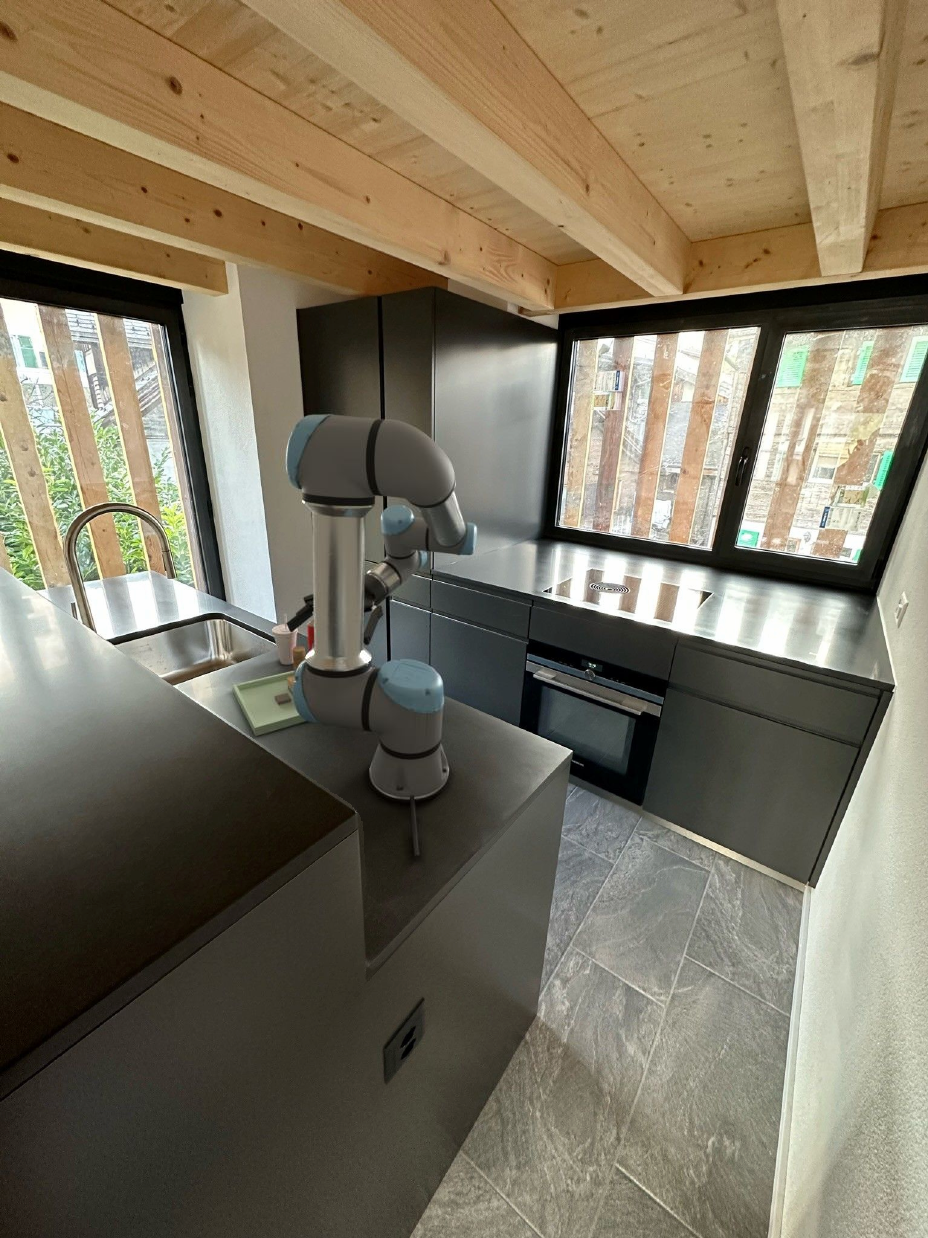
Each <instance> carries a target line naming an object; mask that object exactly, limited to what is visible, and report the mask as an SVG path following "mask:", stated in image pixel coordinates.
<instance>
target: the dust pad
mask: <svg viewBox="0 0 928 1238" xmlns="http://www.w3.org/2000/svg"><path fill="white" fill-rule="evenodd" d="M275 700H276V702H277V703H278V705H281V704H284V703H288V702H291V698H290V696H289V695H288V693H285V694H281V695H277V696H275Z"/></svg>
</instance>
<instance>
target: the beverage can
mask: <svg viewBox="0 0 928 1238" xmlns="http://www.w3.org/2000/svg"><path fill="white" fill-rule="evenodd" d="M306 628H307V643H308V645H307V646H308V653H309V652H310V651H311V650H312V649H313V648H314V619H311V620H309V621H308V622H307V625H306Z"/></svg>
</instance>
